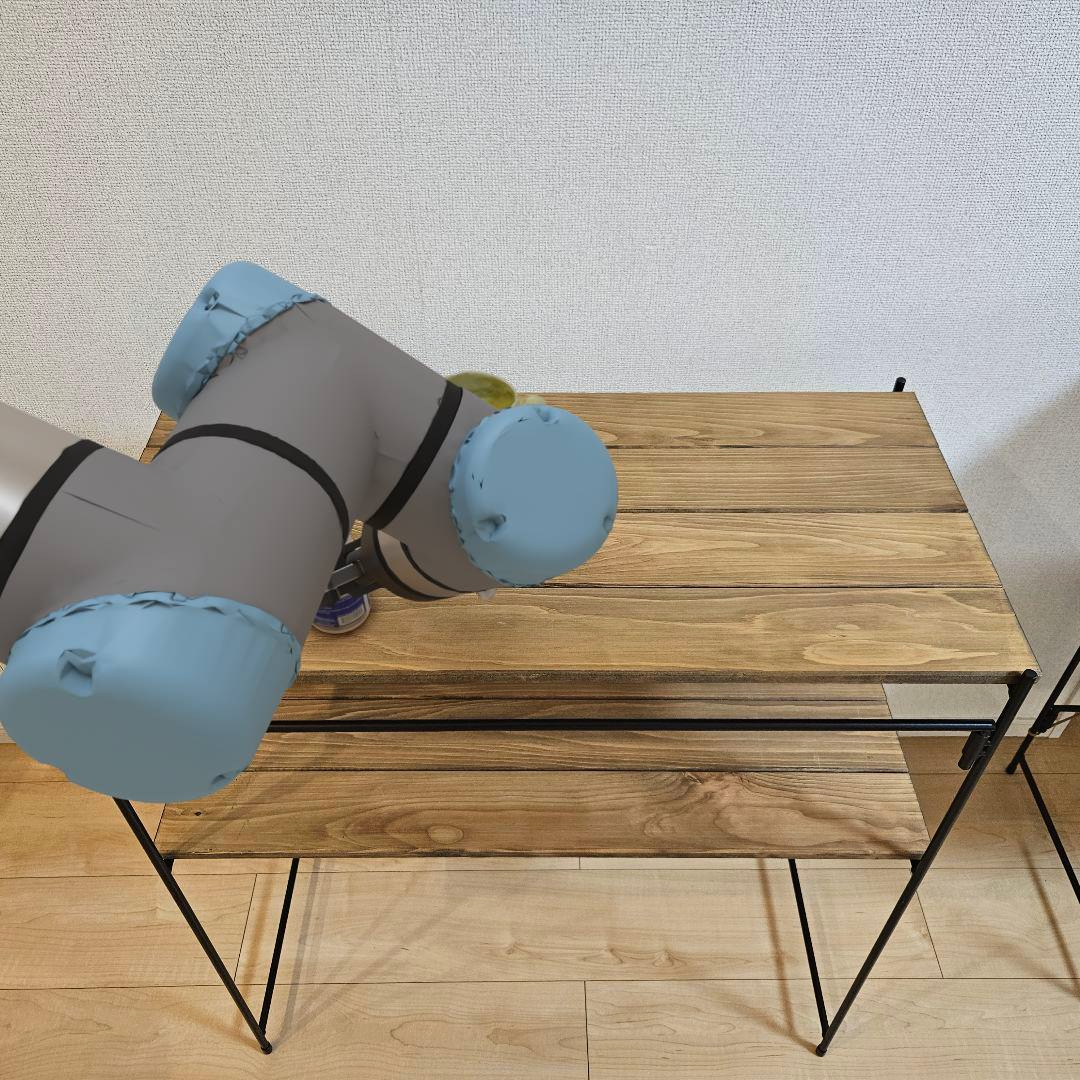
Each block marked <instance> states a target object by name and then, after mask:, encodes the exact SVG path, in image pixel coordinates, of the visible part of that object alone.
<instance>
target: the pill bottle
mask: <svg viewBox="0 0 1080 1080" xmlns="http://www.w3.org/2000/svg"><path fill="white" fill-rule="evenodd" d="M352 541H353V538H352V533H350V535H349V538H348V540H347V542H346V544H348V543H350V542H352ZM346 544H345V545H346ZM357 549H359V548H356V549H355V550H357ZM358 561H359V560H358ZM370 612H371V598H370V593H367V594H365V595H363V596H360V597H357V598H355V597H353V596H351V595H350V594H345V595H343V596H342V598H341V599H340V600H338V602H336V603H335V605H333V606H331V607H329V608H328V607H326V606H325V607H323V608H320V609H318V611H317V614H316V616H315V619H314V621H313V624H312V626H313V627H314V628H316V629H317V630H319V631H321V632H323V633H328V634H343V633H344V634H345V633H348V632H350V631H353V630H354V629H356V628H358V627H360V626H361V625H362V624H363V623H364V622H365V621H366V619H368V616H369V614H370Z"/></svg>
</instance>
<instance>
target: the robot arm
mask: <svg viewBox="0 0 1080 1080" xmlns="http://www.w3.org/2000/svg"><path fill="white" fill-rule="evenodd" d="M151 397H152V398H151V399H152V401H153V403H154V404H155V406H156V407H157V409H159V410H160V411H161V413H163V414H164V415H166V416H167V417H169V418H170V419H172V420H173V421H175V422H176V424H175V425H174V426H173V429H172V430H171V431H170V434H168V435H167V438H166V440H165V441H164V443H163V444H162V446H161V447H160V448H159V449H158V452H157V453H156V454H155V455H154V456H153V458H152V459H151V460H150V462H149V464H147V463H145V462H142V461H140V460H138V459H135V458H134V457H131V456H129V455H127V454H125V453H122V452H120V451H117V450H115V449H112V448H110V447H107V446H105V445H103V444H101V443H98V442H96V441H94V440H91V439H88V438H84V437H82V436H79V435H78V434H76V433H73V432H72V431H69V430H67V429H65V428H62V427H60V426H58V425H55V424H54V423H51V422H49V421H47V420H45V419H42V418H40V417H38V416H36V415H33V414H31V413H29V412H27V411H25V410H22V409H21V408H18V407H16V406H14V405H12V404H9V403H7V402H5V401H3V400H0V663H1V664H3V665H5V667H4V668H3V670H2V672H1V674H0V724H1V726H2V728H3V730H4V731H5V733H6V734H7V736H8V737H9V738H10V739H11V740H12V742H14V744H15V745H16V746H17V747H18V748H19V749H20V750H21V751H22V752H24V754H26V755H28V756H29V757H30V758H32V759H33V760H34V761H36V762H37V763H39V764H42V765H46V766H47V765H48V766H51V767H53V768H55V769H58V771H60V772H62V773H63V774H64V775H65V777H66V779H67V781H68V782H70V783H72V784H74V785H77V786H78V787H81V788H84V789H87V790H88V791H92V792H95V793H98V794H101V795H104V796H108V797H112V798H116V799H119V800H127V801H130V802H131V801H132V802H139V803H145V804H160V805H161V804H163V805H164V804H177V803H187V802H191V801H196V800H199V799H202V798H206V797H208V796H211V795H213V794H216V793H217V792H219V791H221V790H223V789H224V788H226V787H227V786H229V785H230V784H231V783H233V782H234V781H235V780H236V779H237V778H238V777H239V775H241V774H242V772H245V771H247V769H248V768H249V767H250V765H251V764H252V762H253V760H254V758H255V757H256V754H257V752H258V750H259V749H260V745H261V744H262V741H263V739H264V737H265V734H266V733H267V731H268V729H269V726H270V724H271V722H272V720H273V718H274V716H275V713H276V711H277V710H278V707H279V705H280V703H281V701H282V699H283V697H284V695H285V693H286V690H287V689H290V688H291V687H292V685H293V684H294V682H295V681H296V679H297V676H298V675H299V672H300V670H301V668H302V651H303V649H304V647H305V644H306V641H307V639H308V637H309V633H310V631H311V629H312V626H313V625H312V624H313V621H314V619H315V616H316V614H317V611H318V609H320V608H323V607H325V606H326V607H328V608H329V607H331V606H333V605H335V603H336V602H338V600H340V599H341V598H342V596H343V595H345V594H350V595H351V596H353V597H355V598H357V597H360V596H363V595H365V594H367V593H369V594H370V593H372V592H375V591H377V590H380V589H382V588H384V589H385V590H387V591H388V592H390V593H392V594H393V595H394V596H397V597H398V598H401V599H404V600H407V601H411V602H419V603H427V602H429V603H430V602H435V601H442V600H447V599H452V598H456V597H458V596H462V595H463V596H464V595H467V594H474V593H476V594H477V596H478V597H479V598H480V599H481V600H482V601H488V600H491V599H494V597H495V596H496V589H502V588H511V587H514V588H523V587H525V588H532V587H536V586H540V585H543V584H545V582H546V581H551V580H552V579H554V578H556V577H559V576H562V575H565V574H567V573H569V572H572V571H574V570H576V569H577V568H580V567H581V566H583V565H584V564H585V563H587V562H588V561H589V560H591V558H593V557H594V556H595V555H596V554H597V553H598V552H599V551H600V550H601V549H602V547H603V546H604V544H605V542H606V541H607V539H608V537H609V535H610V533H611V532H612V531H613V528H614V523H615V520H616V517H617V513H618V508H619V507H618V506H619V483H618V482H619V481H618V477H617V472H616V468H615V465H614V462H613V459H612V457H611V454H610V453H609V450H608V449H607V447H606V445H605V443H604V441H603V440H602V439H601V438H600V436H599V435H598V434H597V433H596V431H594V429H593V428H592V427H591V426H589V424H587V423H586V422H585V421H584V420H583V419H581V418H580V417H578V416H577V415H575V414H573V413H571V412H570V411H568V410H565V409H563V408H561V407H555V406H552V405H547V406H546V405H528V404H527V405H522V406H517V407H507V408H503V409H502V410H501V411H500V410H498V409H497V408H495V407H494V406H492V405H490V404H489V403H487V402H486V401H484V400H482V399H481V398H479V397H478V396H476V395H475V394H473V393H471V392H470V391H468V390H467V389H465V388H463V387H458V386H457V385H455V384H454V383H452V382H450V381H449V380H446V378H445V376H443V375H441V374H440V373H439V372H437V371H435V370H434V369H432V368H431V367H429V366H428V365H426V364H424V363H423V362H421V360H420V361H419V360H418V359H417V358H415V357H414V356H412V355H410V354H409V353H407V352H406V351H404V350H402V349H401V348H399V347H398V346H396V345H395V344H393V343H391V342H390V341H388V340H387V339H386V338H384V337H382V336H381V335H379V334H378V333H376V332H375V331H373V330H371V329H370V328H368V327H367V326H365V325H364V324H362V323H361V322H359V321H357V320H356V319H354V318H353V317H352V316H350V315H348V314H347V313H345V312H343V311H342V310H340V309H339V308H337V307H336V306H334V305H333V304H332V303H331V302H330V301H329V300H328V299H327V298H324V297H323V296H320V295H319V294H317V293H310V292H309V291H306V290H304V289H303V288H301V287H299V286H297V285H296V284H294V283H292V282H290V281H289V280H286V279H284V278H283V277H281V276H279V275H278V274H276V273H274V272H272V271H270V270H268V269H267V268H265V267H263V266H261V265H260V264H257V263H255V262H252V261H247V260H246V261H245V260H239V261H232V262H230V263H227V264H225V265H224V266H222V267H221V268H219V270H217V271H215V273H214V274H213V275H212V277H210V279H209V280H208V281H207V282H206V283H205V285H204V286H203V288H202V289H201V291H200V292H199V294H198V295H197V297H196V299H195V301H194V302H193V304H192V306H191V307H190V308H188V310H187V311H186V313H185V314H184V317H183V318H182V320H181V321H180V323H179V325H178V327H177V328H176V330H175V332H174V333H173V335H172V337H171V339H170V341H169V343H168V345H167V347H166V349H165V351H164V352H163V355H162V356H161V359H160V360H159V363H158V366H157V368H156V371H155V374H154V376H153V378H152V382H151ZM356 520H357V521H359V522H361V523H362V529H361V535H360V537H359V538H357V539H354V540H352V542H350V543H348V544H346V542H347V540H348V538H349V535H350V534H352V533H351V532H352V530H353V528H354V525H355V522H356ZM345 544H346V545H345ZM356 548H358V549H357V550H355V549H356ZM358 560H359V561H358Z"/></svg>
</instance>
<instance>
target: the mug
mask: <svg viewBox="0 0 1080 1080" xmlns="http://www.w3.org/2000/svg"><path fill="white" fill-rule="evenodd" d="M444 377H445V378H446V380H449V381H450V382H452V383H454V384H455V385H457V386H458V387H463V388H465V389H467V390H468V391H470V392H471V393H473V394H475V395H476V396H478V397H479V398H481V399H482V400H484V401H486V402H487V403H489V404H490V405H492V406H494V407H495V408H497V409H498V410H500V411H501V410H502V409H503V408H507V407H517V406H522V405H527V404H528V405H546V406H548V403H547V401H546V399H544V398H543V397H542V396H540V395H537V394H533V393H531V394H525V395H523V396H519V394H518V392H517V389H516V387H515V386H514V385H513V384H512V383H511V382H509V381H508V380H507V379H506V378H503V377H501V376H499V375H497V374H493V373H489V372H485V371H478V370H461V371H459V372H456V373H454V374H450V375H449V374H448V375H445V376H444Z"/></svg>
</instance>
